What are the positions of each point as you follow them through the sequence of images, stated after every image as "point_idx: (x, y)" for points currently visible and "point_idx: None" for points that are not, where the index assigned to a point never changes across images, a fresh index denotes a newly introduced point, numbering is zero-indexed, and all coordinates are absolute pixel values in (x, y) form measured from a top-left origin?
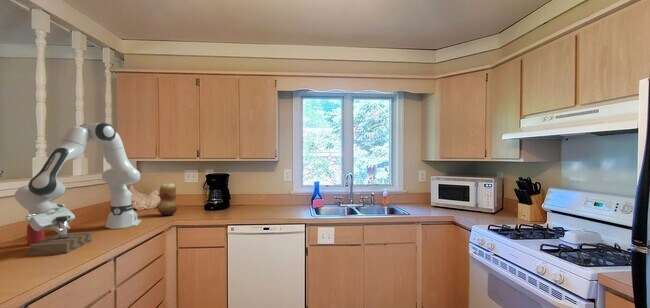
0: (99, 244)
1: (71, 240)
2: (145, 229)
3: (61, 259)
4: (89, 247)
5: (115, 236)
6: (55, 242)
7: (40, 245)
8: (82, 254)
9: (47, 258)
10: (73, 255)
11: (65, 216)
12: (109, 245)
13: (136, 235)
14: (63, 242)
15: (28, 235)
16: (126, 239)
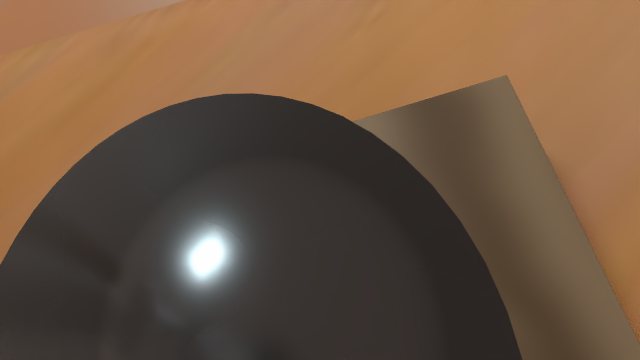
0: (286, 81)
1: (424, 108)
2: (32, 73)
3: (597, 41)
4: (345, 88)
5: None
6: (509, 203)
7: (614, 304)
8: (480, 8)
9: (604, 154)
10: (507, 41)
11: (153, 276)
12: (308, 11)
13: (137, 28)
14: (495, 121)
15: None
16: (204, 18)
